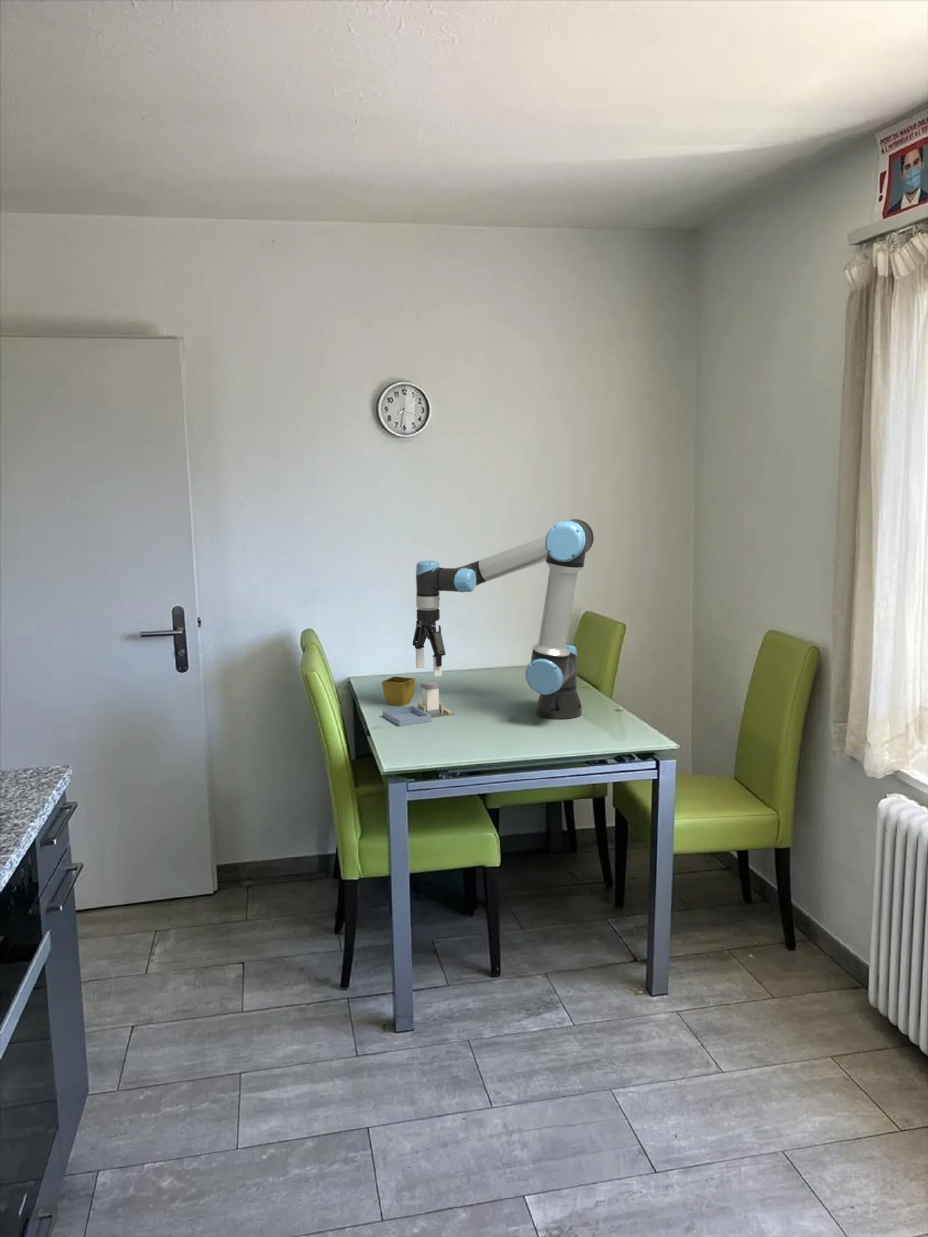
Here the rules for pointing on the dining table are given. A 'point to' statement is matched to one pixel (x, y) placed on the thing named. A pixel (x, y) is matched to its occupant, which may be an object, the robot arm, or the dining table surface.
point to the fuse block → (442, 711)
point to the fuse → (430, 697)
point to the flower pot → (398, 690)
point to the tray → (406, 716)
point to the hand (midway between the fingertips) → (428, 671)
